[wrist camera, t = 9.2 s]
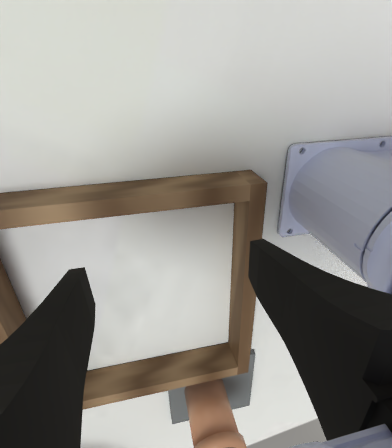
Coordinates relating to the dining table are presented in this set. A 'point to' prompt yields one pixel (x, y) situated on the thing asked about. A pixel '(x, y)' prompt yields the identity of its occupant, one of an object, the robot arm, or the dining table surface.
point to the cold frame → (143, 203)
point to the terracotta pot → (211, 416)
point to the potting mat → (234, 386)
